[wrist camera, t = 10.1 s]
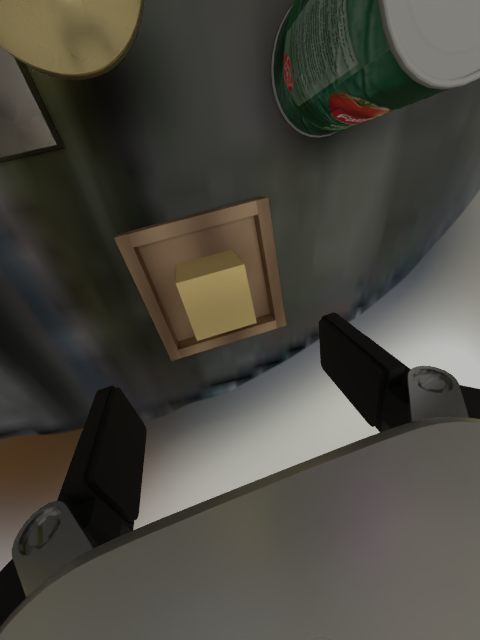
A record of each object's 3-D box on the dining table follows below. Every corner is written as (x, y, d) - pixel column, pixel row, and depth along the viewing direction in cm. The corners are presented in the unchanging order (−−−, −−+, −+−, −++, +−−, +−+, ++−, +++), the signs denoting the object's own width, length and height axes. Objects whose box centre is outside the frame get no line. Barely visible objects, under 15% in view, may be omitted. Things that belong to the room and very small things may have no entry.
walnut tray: (172, 349, 26) (171, 361, 24) (119, 233, 20) (113, 237, 18) (279, 316, 27) (286, 325, 25) (260, 196, 21) (268, 197, 19)
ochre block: (176, 264, 21) (175, 283, 17) (231, 249, 22) (244, 264, 17) (194, 313, 24) (197, 340, 19) (242, 299, 24) (256, 322, 20)
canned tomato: (313, 162, 20) (431, 137, 11) (247, 66, 17) (337, -98, 7) (390, 73, 19) (610, -49, 9) (334, -55, 15) (604, -481, 5)
